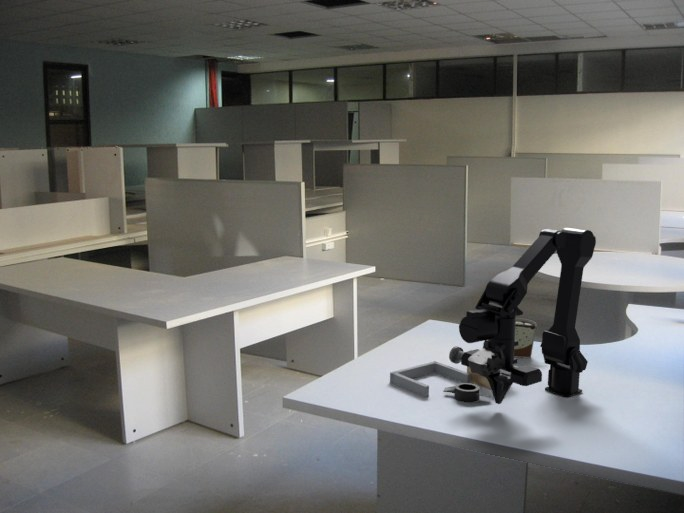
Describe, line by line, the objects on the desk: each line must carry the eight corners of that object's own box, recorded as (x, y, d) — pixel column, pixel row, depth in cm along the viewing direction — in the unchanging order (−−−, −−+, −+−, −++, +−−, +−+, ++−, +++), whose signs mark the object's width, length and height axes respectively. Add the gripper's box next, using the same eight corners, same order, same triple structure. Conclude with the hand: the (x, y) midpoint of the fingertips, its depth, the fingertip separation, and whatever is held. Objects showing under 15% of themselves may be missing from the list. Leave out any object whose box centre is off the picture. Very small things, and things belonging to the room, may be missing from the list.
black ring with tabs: (468, 408, 158) (468, 396, 158) (440, 395, 167) (440, 383, 166) (493, 402, 162) (494, 390, 162) (465, 389, 170) (465, 378, 170)
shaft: (495, 373, 175) (496, 356, 175) (483, 376, 173) (484, 359, 172) (460, 361, 185) (461, 345, 184) (448, 364, 182) (449, 347, 181)
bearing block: (509, 384, 174) (511, 357, 173) (490, 389, 170) (492, 362, 168) (485, 375, 180) (486, 349, 179) (466, 380, 176) (467, 354, 175)
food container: (532, 351, 201) (534, 317, 199) (536, 358, 195) (538, 323, 193) (489, 349, 202) (490, 316, 200) (491, 356, 196) (493, 321, 194)
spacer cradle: (470, 383, 174) (470, 373, 173) (425, 396, 164) (425, 386, 164) (434, 370, 184) (435, 361, 183) (389, 382, 174) (390, 372, 174)
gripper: (445, 332, 157) (443, 398, 159) (511, 352, 142) (507, 425, 145) (479, 325, 163) (476, 388, 166) (545, 343, 149) (541, 413, 151)
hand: (498, 403), depth 157 cm, fingers closed
